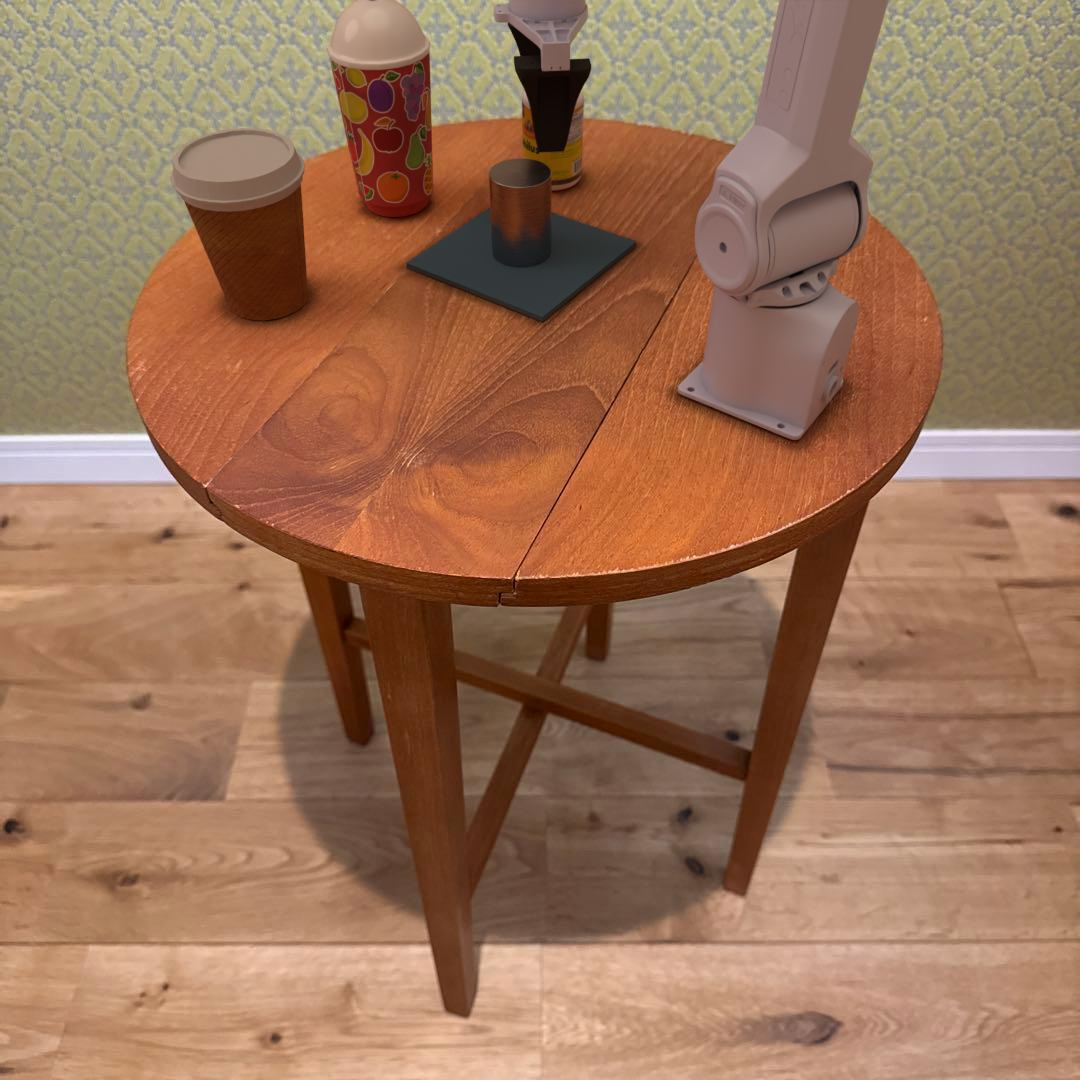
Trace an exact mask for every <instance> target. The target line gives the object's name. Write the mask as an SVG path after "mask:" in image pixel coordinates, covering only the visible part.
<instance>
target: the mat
mask: <svg viewBox="0 0 1080 1080" xmlns="http://www.w3.org/2000/svg"><path fill="white" fill-rule="evenodd" d="M635 248H637V241H636V240H633V239H630V238H629V237H624V236H621V235H619V234H616V233H614V232H610V231H607V230H605V229H601V228H598V227H596V226H593V225H590V224H588V223H587V224H586V223H584V222H581V221H579V220H575V219H572V218H570V217H567V216H564V215H560V214H557V213H554V212H552V211H551V255H550V257H549V258H548V259H547V260H546V261H544V262H543V263H541V264H538V265H535V266H531V267H512V266H507V265H504V264H502V263H500V262H498V261H497V260H496V259H495V258H494V256H493V254H492V236H491V214H490V207H488V208H487V209H485V210H483V211H482V212H481V213H479V214H478V215H476V216H474V217H473V218H472V219H470V220H469V221H467V222H466V223H464V224H462V225H460V226H459V227H458V228H457V229H455V230H453V231H452V232H450V233H449V234H448V235H446V236H444V237H443V238H442V239H440V240H438V241H436V242H435V243H434V244H433V245H431V246H429V247H428V248H426V249H424V250H423V251H422V252H420V253H419V254H417V255H416V256H414V257H413V258H411V259H410V260H408V261H406V263H405V264H406V268H407V269H408V270H411V271H414V272H416V273H419V274H422V275H424V276H426V277H429V278H432V279H433V280H436V281H439V282H442V283H445V284H447V285H449V286H452V287H454V288H457V289H459V290H462V291H464V292H467V293H470V294H471V295H475V296H477V297H479V298H481V299H484V300H487V301H488V302H489V301H490V302H492V303H494V304H496V305H499V306H501V307H504V308H506V309H509V310H511V311H514V312H516V313H519V314H521V315H524V316H526V317H529V318H532V319H534V320H536V321H539V322H542V323H543V322H545V321H547V319H548V318H550V317H551V316H552V315H553V314H555V312H557V311H558V310H560V309H561V308H562V307H563V306H564V305H565V304H567V303H568V302H569V301H570V300H572V299H573V298H574V297H575V296H577V295H578V294H580V293H581V292H582V291H583V290H584V289H586V287H588V286H589V285H590V284H591V283H593V282H594V281H595V280H596V279H598V278H599V277H600V276H601V275H603V274H604V273H605V272H606V271H607V270H609V269H610V268H611V267H612V266H614V265H615V264H616V263H617V262H619V261H620V260H621V259H622V258H623V257H625V256H626V255H627V254H629V253H630V252H631V251H632V250H634V249H635Z"/></svg>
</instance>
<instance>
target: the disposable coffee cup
mask: <svg viewBox="0 0 1080 1080" xmlns="http://www.w3.org/2000/svg"><path fill="white" fill-rule="evenodd" d="M305 165H306V164H305V161H304V159H303V157H302V156H301V155H300V154H299V153H298V151H297V149H296V146H295V145H294V142H293V141H292V140H291V138H289V137H288V136H286V135H284V134H282V133H280V132H277V131H273V130H269V129H264V128H256V127H239V128H229V129H223V130H216V131H213V132H210V133H207V134H202V135H200V136H198V137H196V138H193V139H191V140H188V142H186V143H185V144H183V145H181V146H180V147H179V148H178V149H177V150H176V152H175V153H174V154H173V159H172V172H171V175H170V183H171V187H172V188H173V190H175V192H176V193H177V194H178V196H179V197H180V198H181V200H182V201H183V202H184V204H185V206H186V207H185V208H186V209H187V211H188V214H189V216H190V218H191V221H192V223H193V225H194V228H195V230H196V233H197V235H198V237H199V240H200V241H201V244H202V246H203V249H204V251H205V254H206V255H207V259H208V260H209V263H210V265H211V267H212V270H213V272H214V274H215V277H216V279H217V281H218V284H219V286H220V288H221V290H222V293H223V295H224V297H225V301H226V302H227V305H228V307H229V309H230V311H232V313H233V314H235V315H236V316H239V317H240V318H243V319H247V320H252V321H271V320H276V319H280V318H284V317H287V316H289V315H291V314H294V313H295V312H297V311H298V310H300V309H301V308H302V307H303V306H304V304H306V302H307V300H308V298H309V291H308V290H309V289H308V275H307V274H308V273H307V258H306V257H307V256H306V241H305V225H304V210H303V194H302V182H303V180H304V179H303V178H304V177H303V175H304V174H305V168H306V166H305Z"/></svg>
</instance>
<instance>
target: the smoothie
mask: <svg viewBox="0 0 1080 1080" xmlns="http://www.w3.org/2000/svg"><path fill="white" fill-rule="evenodd" d="M430 49H431V41H430V40H429V39H428V36H427V35H425V34H424V32H423V30H422V28H421V26H420V24H419V22H418V21H417V19H416V18H415V16H414V15H413V14H412V12H411V11H410V10H409V9H408V8H407V7H406V6H405V5H403V4H402V3H400V2H399V1H397V0H354V1H352V2H351V3H350V4H349V5H347V6H346V7H345V8H344V9H343V11H342V12H341V13H340V15H339V16H338V18H337V20H336V23H335V25H334V27H333V32H332V34H331V40H330V41H329V43H328V44H327V47H326V52H327V54H328V57H329V63H330V68H331V72H332V77H333V82H334V86H335V91H336V95H337V100H338V104H339V109H340V115H341V118H342V119H341V120H342V123H343V128H344V133H345V137H346V142H347V146H348V152H349V157H350V160H351V165H352V166H351V167H352V171H353V174H354V179H355V185H356V189H357V193H358V195H359V198H360V199H362V200H363V201H364V202H365V204H366V207H367V210H369V211H370V212H371V213H373V214H375V215H378V216H381V217H388V218H403V217H408V216H411V215H414V214H417V213H419V212H421V211H422V210H424V209H425V207H426V206H428V204H429V196H430V195H431V194H432V193H433V191H434V165H433V163H434V162H433V129H432V128H433V127H432V124H433V123H432V122H433V121H432V90H431V89H432V88H431V56H430V55H431V53H430Z"/></svg>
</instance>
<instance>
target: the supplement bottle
mask: <svg viewBox="0 0 1080 1080" xmlns="http://www.w3.org/2000/svg"><path fill="white" fill-rule="evenodd" d="M584 96H585V95H584V92H583V89H582V90H581V92H580V94H579V97H578V99H577V102H576V106H575V109H574V113H573V117H572V122H571V127H570V132H569V136H568V140H567V144H566V147H565V150H564V151H563V152H539V150H538V148H537V144H536V140H535V135H534V129H533V122H532V116H531V110H530V105H529V102H528V98H527V95H526V93H525V90H524V89H523V92H522V95H521V119H522V120H521V121H522V159H532V160H536V161H540V162H542V163H544V164H546V165H547V166H548V167H549V168H550V169H551V172H552V178H551V191H561V190H566V189H569V188H571V187H573V186H575V185H576V184H577V183H578V182H579V181H580V180H581V177H582V173H583V171H582V170H583V147H584V146H583V145H584V144H583V143H584V111H585V109H584V107H585V105H584V104H585V97H584Z"/></svg>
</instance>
